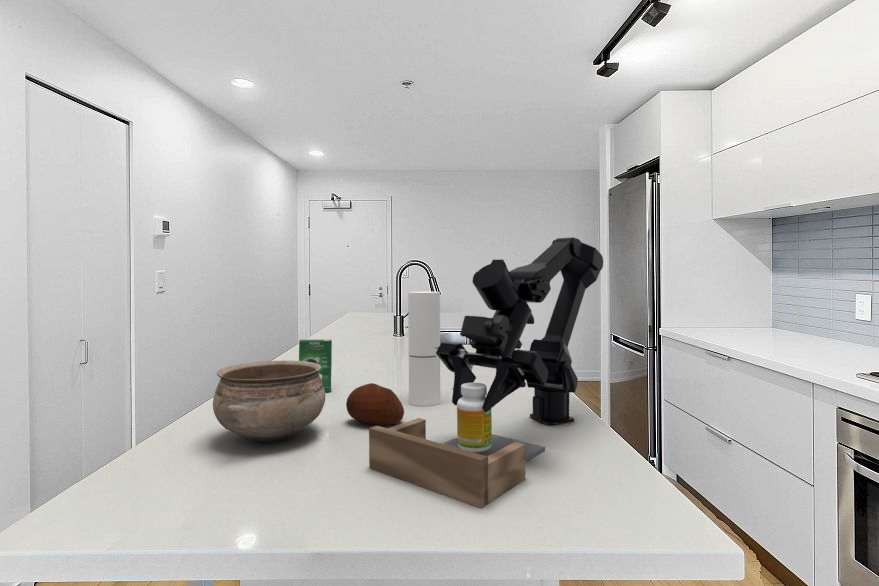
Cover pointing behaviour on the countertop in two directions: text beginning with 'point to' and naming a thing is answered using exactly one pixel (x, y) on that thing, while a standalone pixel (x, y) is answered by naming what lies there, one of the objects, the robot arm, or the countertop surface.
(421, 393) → the cylindrical container
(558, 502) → the countertop surface
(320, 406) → the cooking pot
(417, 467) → the brown walled open frame
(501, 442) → the mat
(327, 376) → the coffee box
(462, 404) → the supplement bottle
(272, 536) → the countertop surface
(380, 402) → the potato
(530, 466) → the countertop surface
